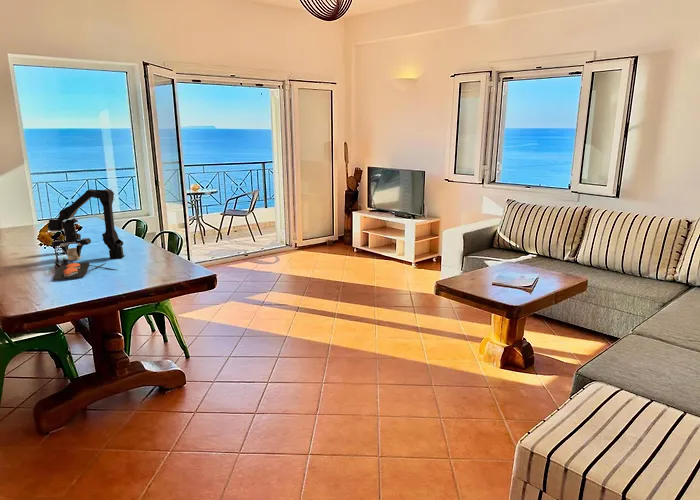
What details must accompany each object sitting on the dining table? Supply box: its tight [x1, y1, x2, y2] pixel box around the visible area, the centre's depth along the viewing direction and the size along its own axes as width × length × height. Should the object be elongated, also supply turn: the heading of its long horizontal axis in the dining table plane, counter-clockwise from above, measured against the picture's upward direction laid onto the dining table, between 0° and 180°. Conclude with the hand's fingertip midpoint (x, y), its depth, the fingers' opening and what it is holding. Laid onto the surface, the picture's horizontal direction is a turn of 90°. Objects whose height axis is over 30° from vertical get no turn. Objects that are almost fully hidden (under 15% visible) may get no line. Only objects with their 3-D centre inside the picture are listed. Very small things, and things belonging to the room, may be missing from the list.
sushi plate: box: [52, 262, 117, 281], centre depth 254 cm, size 29×30×4 cm
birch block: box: [66, 247, 82, 261], centre depth 277 cm, size 5×5×6 cm
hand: (74, 256), depth 278 cm, fingers closed on birch block, 5 cm apart
